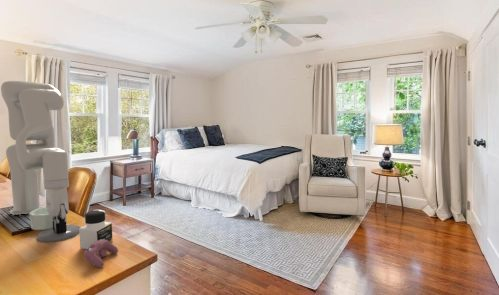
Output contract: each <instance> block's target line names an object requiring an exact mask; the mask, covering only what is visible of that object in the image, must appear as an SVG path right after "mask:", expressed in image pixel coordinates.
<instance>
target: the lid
mask: <svg viewBox="0 0 499 295" xmlns="http://www.w3.org/2000/svg"><path fill="white" fill-rule="evenodd" d="M56 223H57V221H56V219H55V220H54V229H55V231H53V228H49V229H47V230H41V232H39V233H38V234H37V239H38V242H40V243H55V242H60V241H65V240H68V239H72V238H73V237H76V236H78V235H79V228H81V226H79V225H77V224H66V226H67V231H66V232H64V233H60V234H57V233H56Z"/></svg>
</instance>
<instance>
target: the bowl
mask: <svg viewBox="0 0 499 295" xmlns="http://www.w3.org/2000/svg"><path fill="white" fill-rule="evenodd" d="M28 215H29V224H30V228H31V230H33V231H44V230H47V229H49V228H53V222H52V221H54V220H52V215H50V214H49V213H48V212H47V211H46V206H44V207H43V208H38V209H36V210H34V211H32V212H29V214H28ZM67 219H68V218H67V216H66V221H67Z"/></svg>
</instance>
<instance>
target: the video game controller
mask: <svg viewBox="0 0 499 295" xmlns="http://www.w3.org/2000/svg"><path fill="white" fill-rule="evenodd" d="M107 252H108V253H111V254H114V253H116V254H117V253H118V252H119V249H118V247H117V246H116V245H114V244H112V242H111V243H110V242H109V241H108V240H105V239H103V240H102V239H101V240H98V241H96V242H94V243H92V244H91V245H90V246H89V247H88V249H85V250H84V253H83V257H84V259H85V260H86V261H87V262H89V263H90V264H91V265H92V266H93V267H96V268H103V267H104V261H103V260H102V259H103V258H105V257H106V256H107Z"/></svg>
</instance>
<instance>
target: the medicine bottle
mask: <svg viewBox="0 0 499 295" xmlns="http://www.w3.org/2000/svg"><path fill="white" fill-rule="evenodd" d="M84 219H85V220H84V222H85V225H84V226H80V228H79V234H78V235H79V249H84V250H87V249H88V247H89V246H90V245H91V244H92V243H94V242H96V241H98V240H101V239H102V240H103V239H105V240H108V241H109V242H110V243H111V244H112V243H113V240H114V239H113V226H112V225H113V224H112V222H109V221H106V211H105V210H102V209H93V210H90V211H87V212H86V213H85V214H84Z"/></svg>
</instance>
